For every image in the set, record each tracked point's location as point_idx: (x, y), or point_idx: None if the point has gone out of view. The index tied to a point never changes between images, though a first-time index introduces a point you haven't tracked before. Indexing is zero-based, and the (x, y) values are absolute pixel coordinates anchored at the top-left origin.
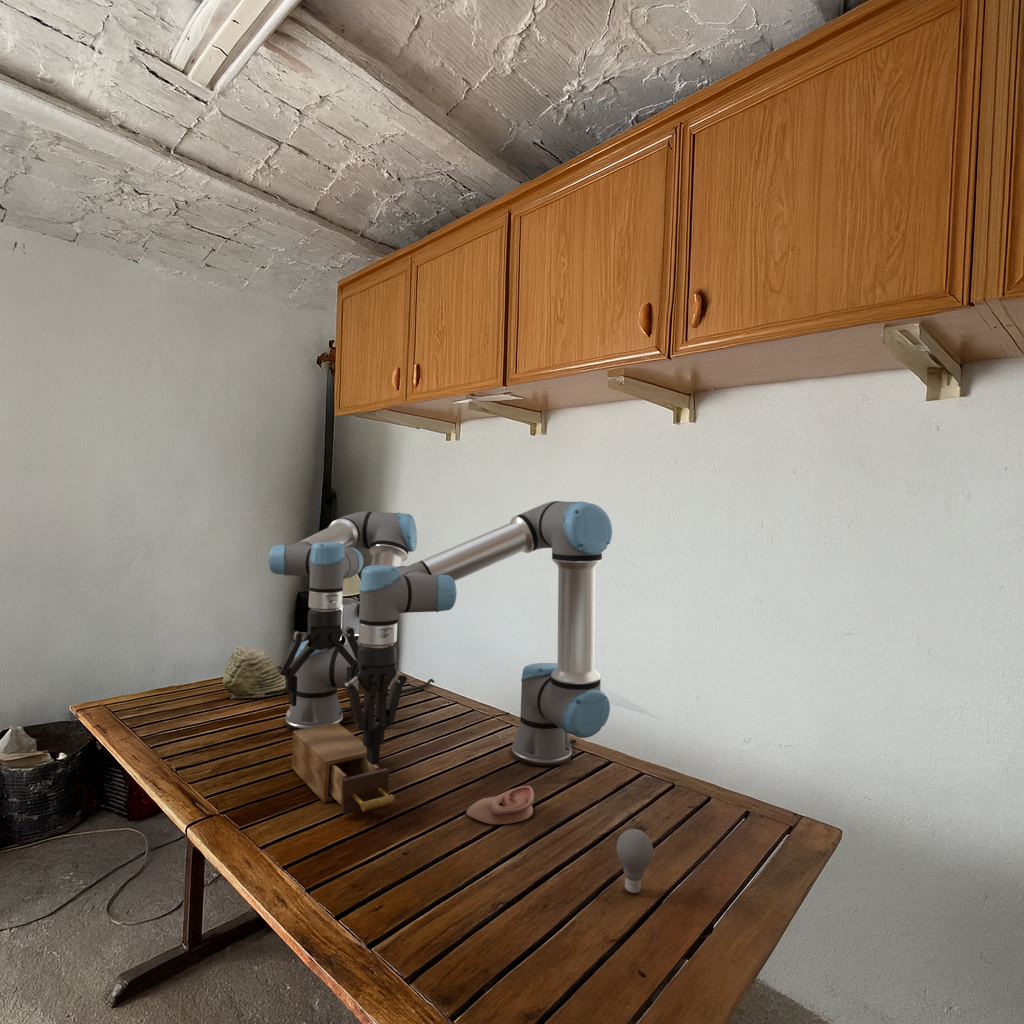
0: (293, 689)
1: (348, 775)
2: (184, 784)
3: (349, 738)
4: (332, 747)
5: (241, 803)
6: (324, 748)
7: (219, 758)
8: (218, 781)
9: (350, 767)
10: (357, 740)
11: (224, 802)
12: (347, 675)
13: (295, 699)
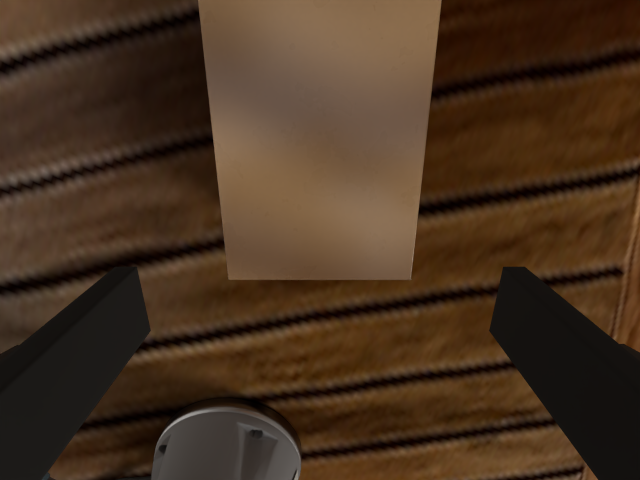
0: (603, 337)
1: None
2: (632, 271)
3: (241, 79)
4: (351, 7)
5: (594, 79)
6: (387, 17)
7: (501, 365)
8: (566, 247)
9: None
10: (214, 29)
11: (622, 113)
12: (64, 423)
13: (534, 286)
